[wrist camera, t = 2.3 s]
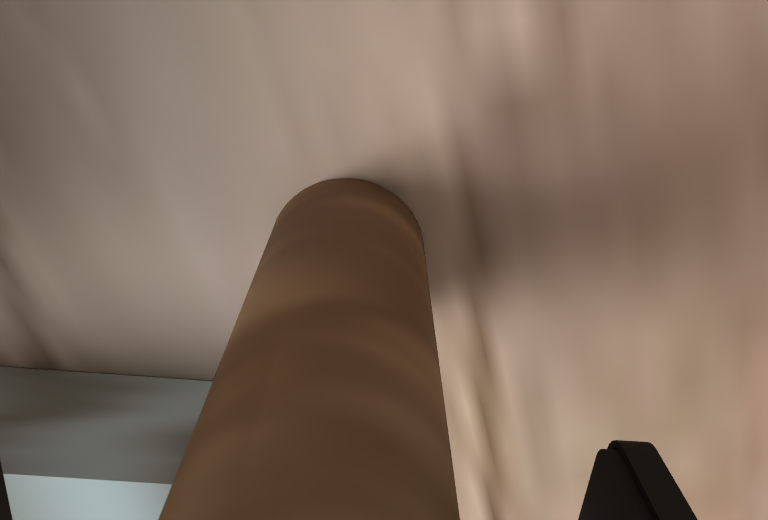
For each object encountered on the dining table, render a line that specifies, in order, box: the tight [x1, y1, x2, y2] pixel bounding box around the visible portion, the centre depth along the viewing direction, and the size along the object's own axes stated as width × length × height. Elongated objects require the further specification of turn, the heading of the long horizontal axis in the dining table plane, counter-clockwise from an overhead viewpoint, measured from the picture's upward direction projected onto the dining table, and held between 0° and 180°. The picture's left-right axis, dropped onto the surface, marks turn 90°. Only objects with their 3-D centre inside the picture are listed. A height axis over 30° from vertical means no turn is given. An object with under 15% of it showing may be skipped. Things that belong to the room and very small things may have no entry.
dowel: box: [158, 179, 460, 520], centre depth 12 cm, size 4×4×12 cm
